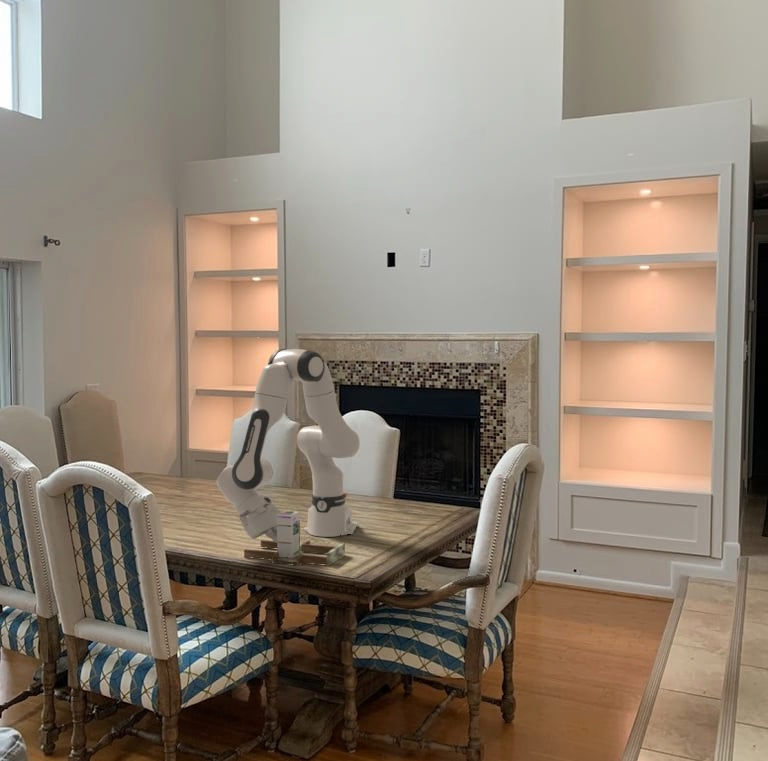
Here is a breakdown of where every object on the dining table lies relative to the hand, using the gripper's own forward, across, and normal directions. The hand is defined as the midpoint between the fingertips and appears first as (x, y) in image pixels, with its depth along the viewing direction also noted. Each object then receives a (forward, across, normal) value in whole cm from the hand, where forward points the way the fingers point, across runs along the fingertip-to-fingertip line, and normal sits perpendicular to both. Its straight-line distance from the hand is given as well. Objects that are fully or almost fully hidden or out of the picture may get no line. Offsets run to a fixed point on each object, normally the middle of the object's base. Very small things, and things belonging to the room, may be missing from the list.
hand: (279, 540), depth 267 cm
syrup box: (+6, 0, +1) cm, 6 cm away
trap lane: (+7, +1, -1) cm, 7 cm away
